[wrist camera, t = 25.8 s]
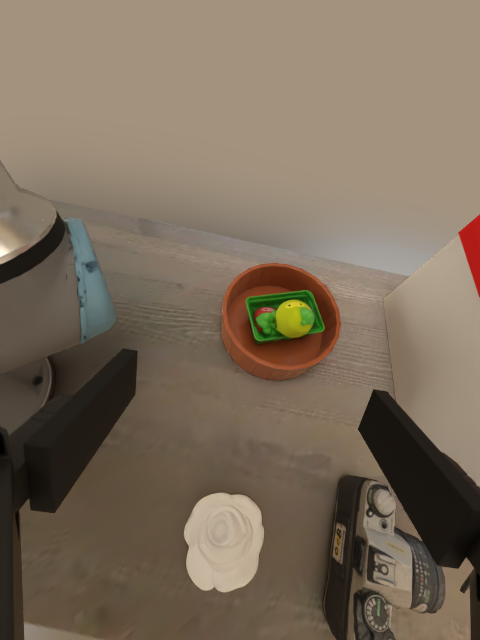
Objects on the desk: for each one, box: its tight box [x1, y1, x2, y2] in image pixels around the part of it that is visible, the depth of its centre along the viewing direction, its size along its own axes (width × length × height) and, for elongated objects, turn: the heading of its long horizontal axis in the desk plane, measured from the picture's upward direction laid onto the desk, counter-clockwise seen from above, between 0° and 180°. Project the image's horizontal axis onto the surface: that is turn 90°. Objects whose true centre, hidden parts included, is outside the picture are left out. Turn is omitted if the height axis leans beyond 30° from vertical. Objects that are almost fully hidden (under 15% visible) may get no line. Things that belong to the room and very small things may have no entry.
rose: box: [184, 493, 264, 592], centre depth 30 cm, size 10×4×10 cm
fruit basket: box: [246, 290, 325, 344], centre depth 40 cm, size 11×9×11 cm
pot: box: [221, 263, 341, 380], centre depth 43 cm, size 18×18×6 cm
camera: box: [323, 475, 445, 640], centre depth 28 cm, size 16×10×10 cm, turn 162°
